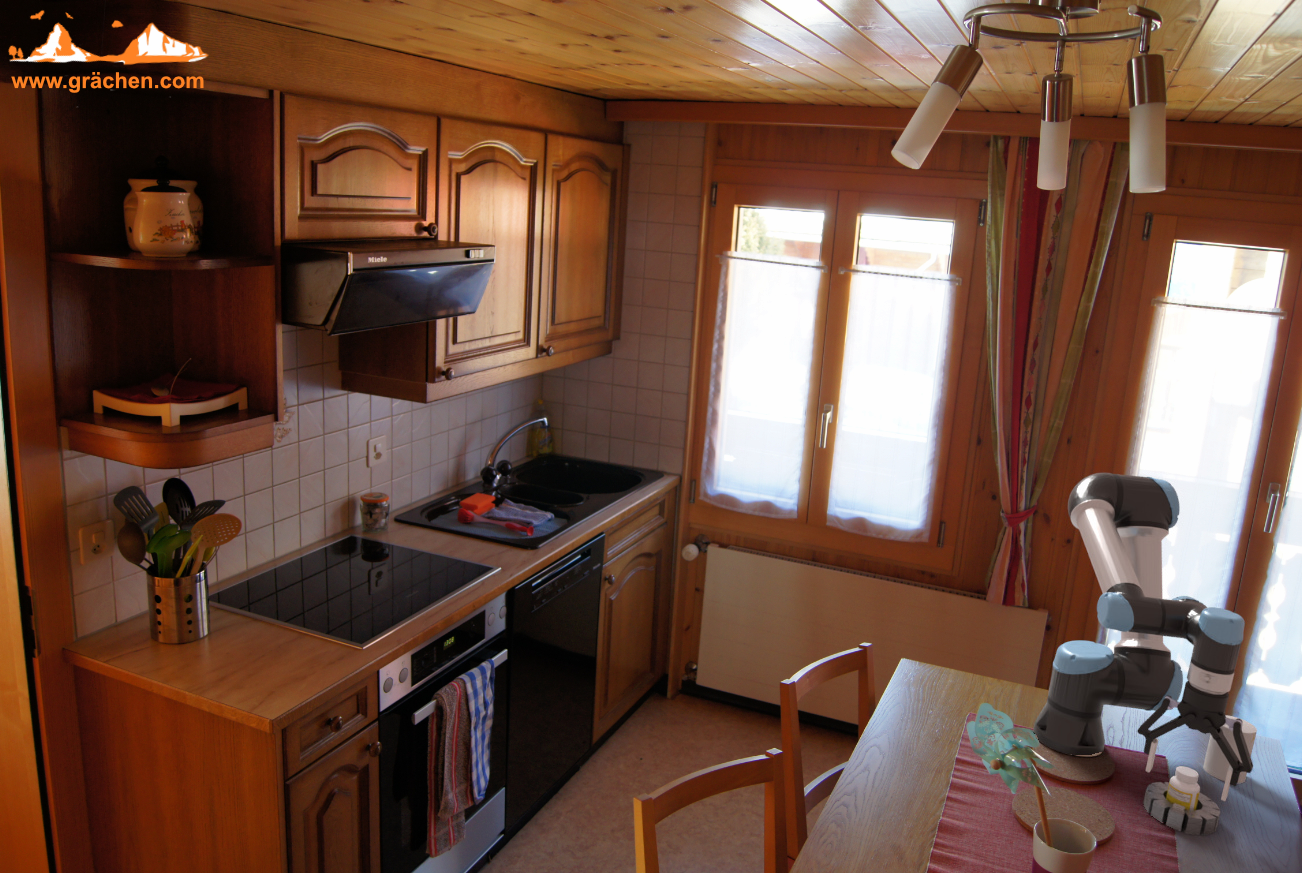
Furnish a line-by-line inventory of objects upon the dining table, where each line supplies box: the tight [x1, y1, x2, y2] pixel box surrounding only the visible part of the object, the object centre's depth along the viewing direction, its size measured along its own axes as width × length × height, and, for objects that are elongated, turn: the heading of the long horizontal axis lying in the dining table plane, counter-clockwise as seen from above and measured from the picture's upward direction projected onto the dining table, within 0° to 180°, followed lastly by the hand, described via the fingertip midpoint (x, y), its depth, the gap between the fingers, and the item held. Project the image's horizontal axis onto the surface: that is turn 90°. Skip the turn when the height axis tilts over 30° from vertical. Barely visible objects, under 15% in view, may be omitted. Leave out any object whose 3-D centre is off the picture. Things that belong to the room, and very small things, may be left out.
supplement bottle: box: [1166, 765, 1201, 811], centre depth 189 cm, size 5×5×10 cm
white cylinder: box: [1203, 714, 1258, 784], centre depth 208 cm, size 8×8×12 cm
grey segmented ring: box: [1143, 781, 1221, 836], centre depth 189 cm, size 13×13×4 cm
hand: (1185, 783), depth 189 cm, fingers open, 13 cm apart
